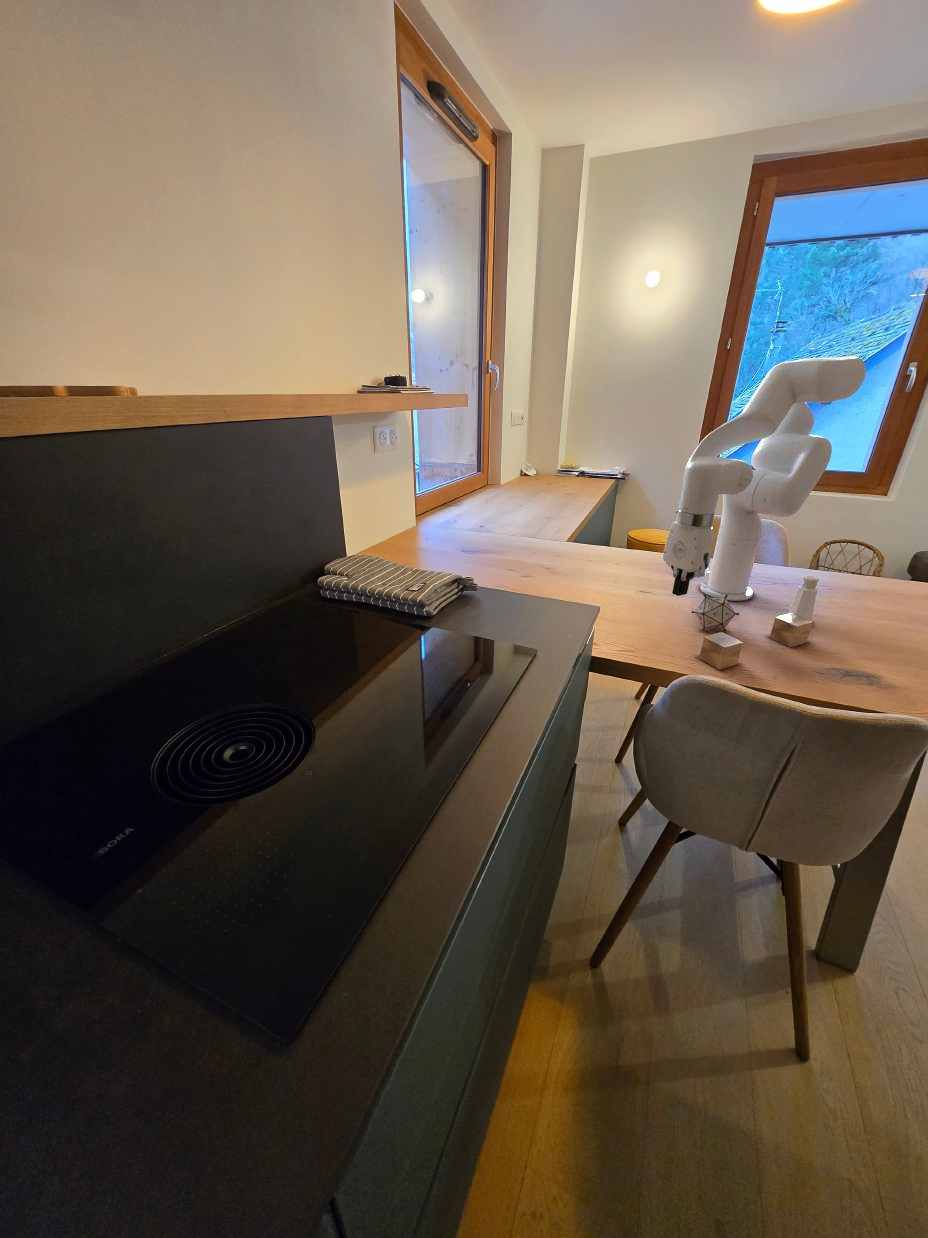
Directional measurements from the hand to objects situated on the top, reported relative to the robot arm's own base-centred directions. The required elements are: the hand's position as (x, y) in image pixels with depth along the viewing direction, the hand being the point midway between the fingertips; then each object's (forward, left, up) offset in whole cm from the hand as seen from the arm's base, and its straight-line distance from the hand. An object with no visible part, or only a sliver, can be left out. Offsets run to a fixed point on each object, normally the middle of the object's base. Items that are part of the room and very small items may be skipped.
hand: (679, 593), depth 119 cm
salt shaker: (+16, +21, -5) cm, 27 cm away
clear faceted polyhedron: (+10, 0, -5) cm, 11 cm away
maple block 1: (+21, -10, -5) cm, 24 cm away
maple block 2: (+21, +11, -5) cm, 24 cm away
